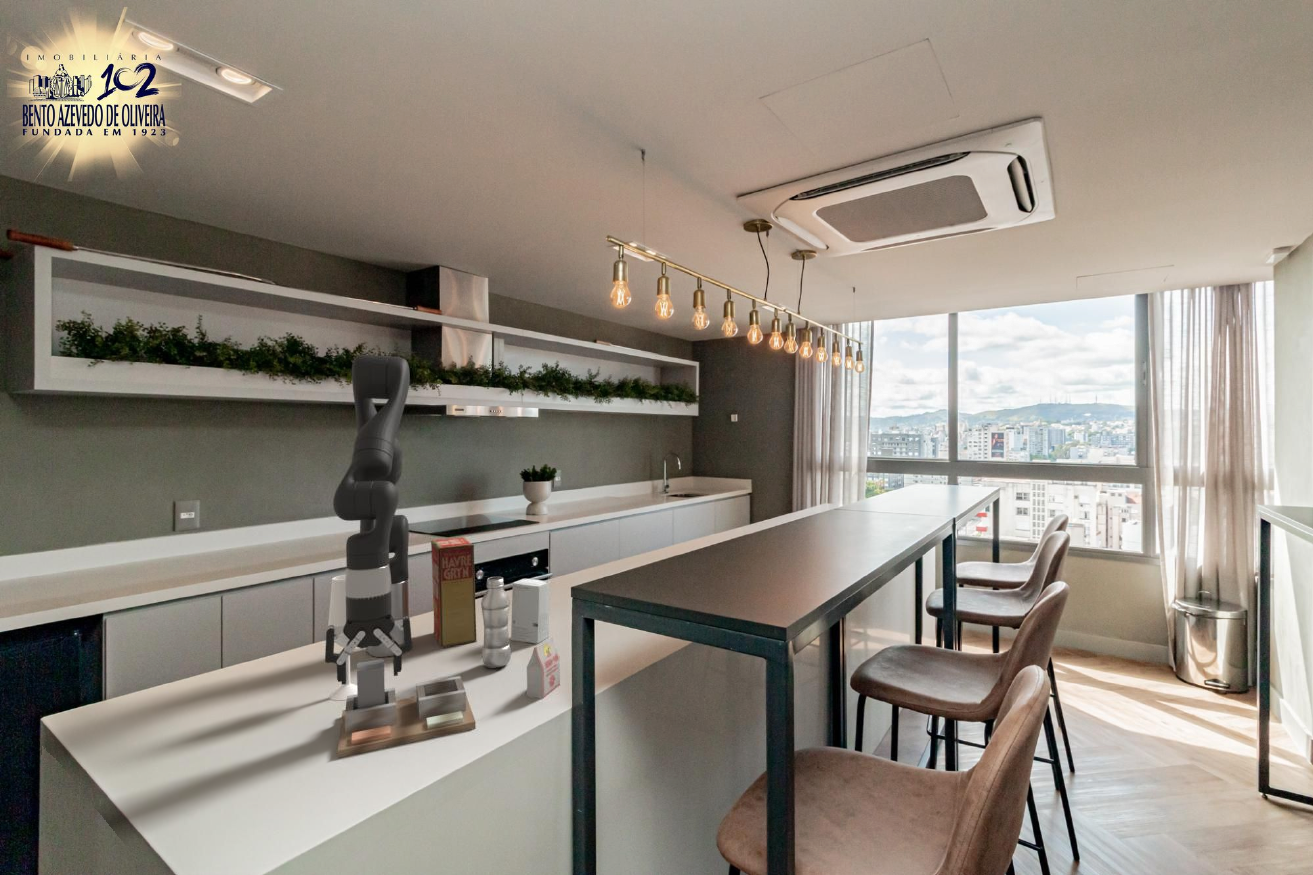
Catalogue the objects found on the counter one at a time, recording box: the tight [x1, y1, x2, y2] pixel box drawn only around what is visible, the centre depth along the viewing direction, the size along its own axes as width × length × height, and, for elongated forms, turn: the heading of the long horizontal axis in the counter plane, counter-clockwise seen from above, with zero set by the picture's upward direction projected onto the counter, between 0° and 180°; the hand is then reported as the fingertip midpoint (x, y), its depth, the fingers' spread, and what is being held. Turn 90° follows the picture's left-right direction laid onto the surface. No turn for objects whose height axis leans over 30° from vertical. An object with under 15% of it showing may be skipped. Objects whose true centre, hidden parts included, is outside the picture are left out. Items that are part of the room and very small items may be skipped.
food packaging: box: [430, 536, 477, 649], centre depth 157 cm, size 13×9×25 cm
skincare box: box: [510, 578, 551, 645], centre depth 155 cm, size 8×6×15 cm
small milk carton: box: [526, 636, 561, 699], centre depth 124 cm, size 4×7×10 cm, turn 160°
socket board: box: [337, 675, 476, 759], centre depth 111 cm, size 22×16×5 cm
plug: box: [356, 658, 386, 709], centre depth 110 cm, size 4×4×10 cm
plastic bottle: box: [480, 576, 512, 669], centre depth 138 cm, size 6×7×20 cm
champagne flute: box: [327, 574, 357, 701], centre depth 124 cm, size 7×7×24 cm
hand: (370, 678), depth 110 cm, fingers open, 8 cm apart
